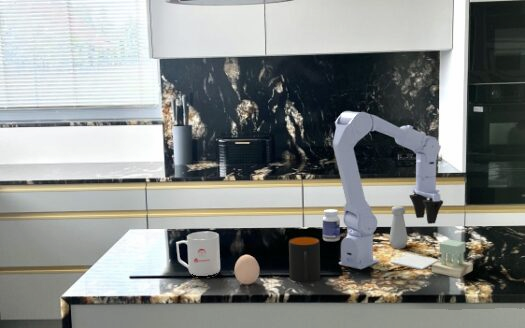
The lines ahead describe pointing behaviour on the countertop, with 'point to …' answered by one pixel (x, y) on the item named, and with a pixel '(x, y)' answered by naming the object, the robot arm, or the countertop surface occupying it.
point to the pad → (414, 261)
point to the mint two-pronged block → (452, 252)
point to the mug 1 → (202, 253)
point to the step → (452, 268)
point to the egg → (246, 269)
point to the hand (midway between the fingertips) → (425, 220)
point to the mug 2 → (304, 259)
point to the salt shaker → (398, 228)
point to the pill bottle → (331, 225)
